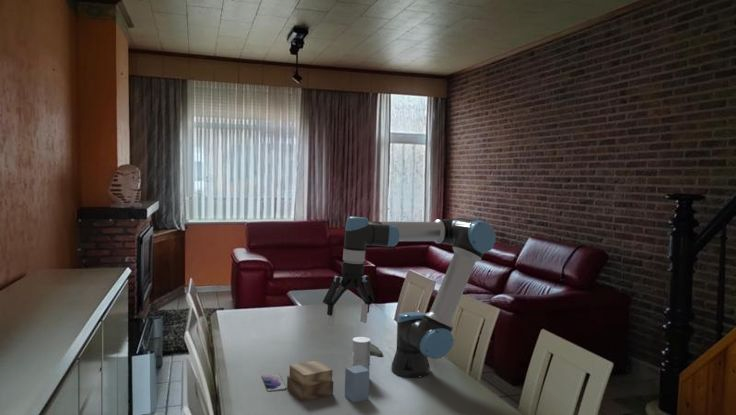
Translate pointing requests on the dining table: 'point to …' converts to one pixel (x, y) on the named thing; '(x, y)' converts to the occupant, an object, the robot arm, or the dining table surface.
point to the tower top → (310, 373)
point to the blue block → (357, 383)
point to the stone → (375, 350)
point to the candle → (361, 352)
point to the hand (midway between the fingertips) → (347, 323)
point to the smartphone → (273, 382)
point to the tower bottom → (309, 389)
